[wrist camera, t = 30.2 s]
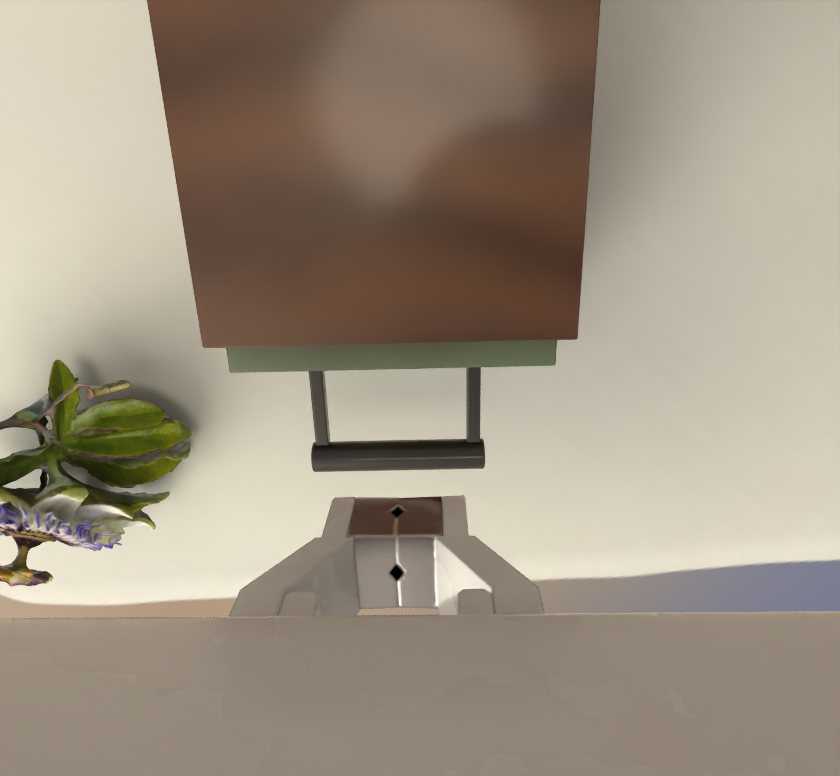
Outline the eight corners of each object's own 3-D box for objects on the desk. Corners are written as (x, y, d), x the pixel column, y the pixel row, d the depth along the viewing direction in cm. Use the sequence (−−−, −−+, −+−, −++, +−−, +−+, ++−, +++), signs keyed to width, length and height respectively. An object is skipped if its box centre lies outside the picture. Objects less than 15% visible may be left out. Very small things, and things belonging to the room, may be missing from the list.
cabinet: (532, 283, 34) (577, 339, 24) (267, 290, 34) (202, 348, 24) (549, -138, 27) (622, -304, 17) (218, -126, 27) (100, -283, 17)
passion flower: (129, 453, 44) (-54, 565, 36) (72, 313, 38) (-163, 410, 30) (236, 508, 38) (45, 658, 30) (187, 353, 32) (-65, 487, 24)
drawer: (520, 409, 35) (549, 488, 27) (287, 414, 36) (247, 493, 27) (537, -77, 27) (586, -175, 19) (233, -66, 27) (151, -159, 19)
